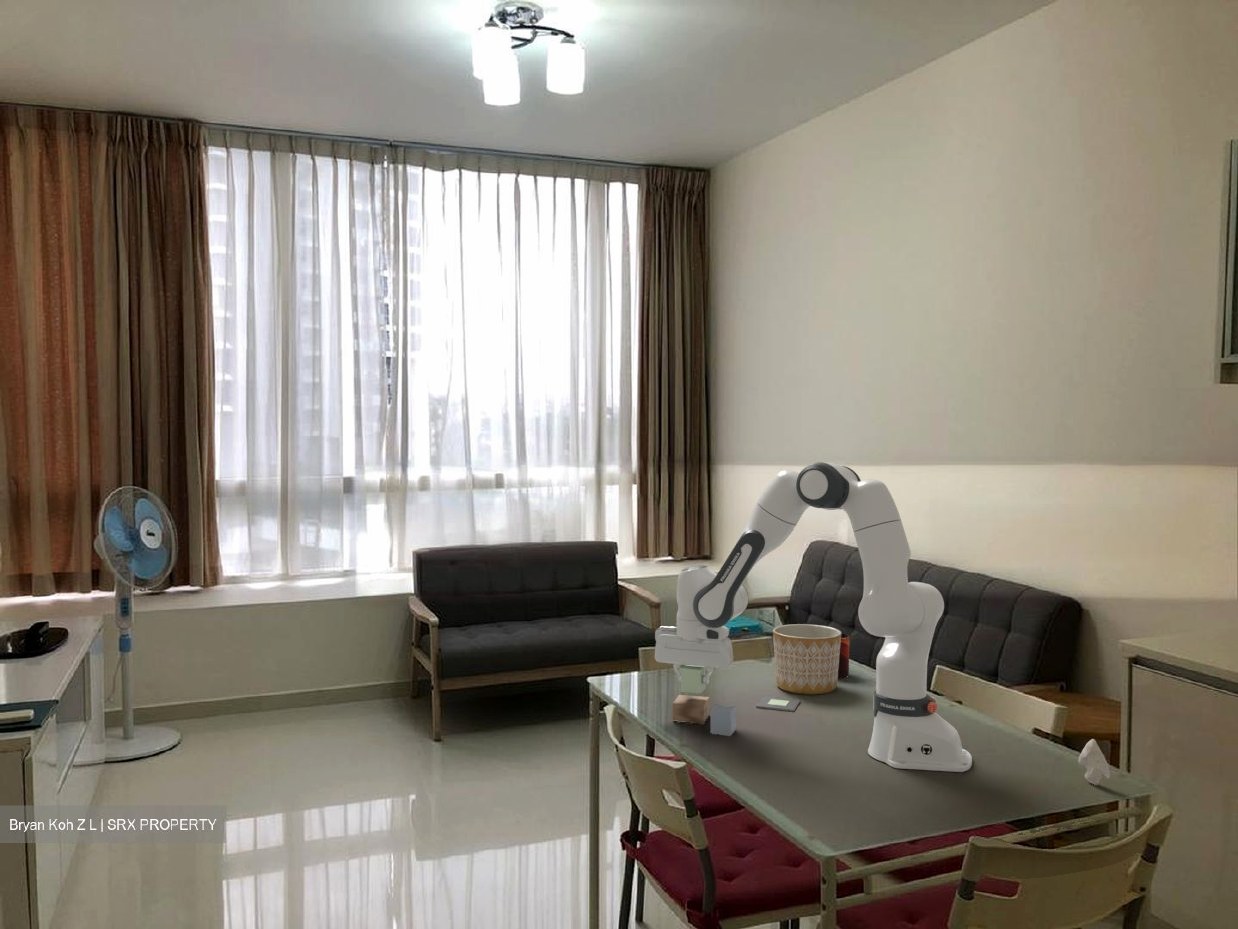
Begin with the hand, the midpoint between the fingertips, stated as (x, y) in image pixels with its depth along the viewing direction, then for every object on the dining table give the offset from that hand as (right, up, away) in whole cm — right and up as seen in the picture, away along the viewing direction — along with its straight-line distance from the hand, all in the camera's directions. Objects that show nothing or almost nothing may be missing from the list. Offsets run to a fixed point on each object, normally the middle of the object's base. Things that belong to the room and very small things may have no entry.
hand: (693, 682), depth 246 cm
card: (+24, -9, +12) cm, 28 cm away
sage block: (0, -2, 0) cm, 2 cm away
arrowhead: (+80, -11, -46) cm, 93 cm away
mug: (+45, -8, +47) cm, 66 cm away
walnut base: (-1, -10, 0) cm, 10 cm away
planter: (+35, -9, +30) cm, 47 cm away
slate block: (+7, -10, -11) cm, 16 cm away
